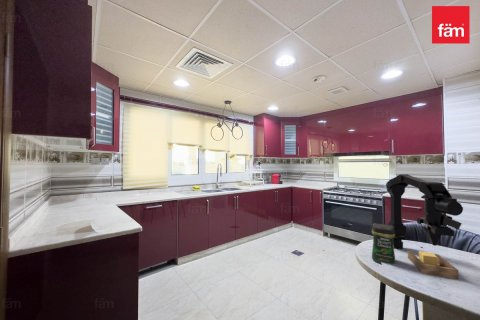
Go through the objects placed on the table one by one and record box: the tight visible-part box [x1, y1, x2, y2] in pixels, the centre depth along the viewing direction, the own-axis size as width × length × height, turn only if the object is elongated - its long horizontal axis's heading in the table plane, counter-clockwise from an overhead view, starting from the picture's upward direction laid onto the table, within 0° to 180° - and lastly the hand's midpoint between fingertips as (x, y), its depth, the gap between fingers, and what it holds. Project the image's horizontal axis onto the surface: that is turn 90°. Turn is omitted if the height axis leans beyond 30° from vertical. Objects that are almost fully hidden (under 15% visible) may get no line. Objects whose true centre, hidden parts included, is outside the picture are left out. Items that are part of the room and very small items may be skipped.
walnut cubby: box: [407, 250, 460, 280], centre depth 93 cm, size 12×16×5 cm
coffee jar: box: [371, 222, 396, 265], centre depth 101 cm, size 10×8×19 cm
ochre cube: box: [418, 250, 438, 266], centre depth 95 cm, size 5×5×5 cm
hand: (434, 245), depth 89 cm, fingers closed
